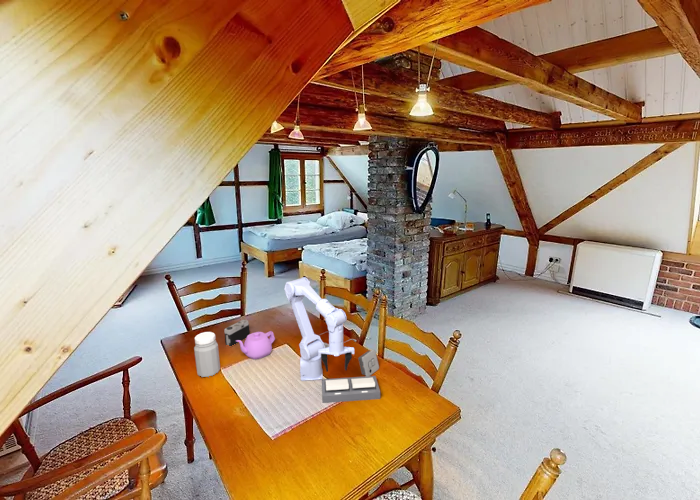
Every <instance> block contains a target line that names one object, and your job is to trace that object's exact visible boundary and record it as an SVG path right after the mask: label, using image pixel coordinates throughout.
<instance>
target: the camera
mask: <svg viewBox="0 0 700 500" xmlns="http://www.w3.org/2000/svg"><path fill="white" fill-rule="evenodd" d="M250 330H251V329H250V323H249V320H247V319H241V320H239V321H237V322H236V323H234V324H232V325H229V326H227V327H226V328H224V341H225V346H226V345H229V346H232V345H234V344H235V345H237V344H238V342H237V341H236V340H242V341H243V339H244V340H246V339H245V338H246V337H247V336H248V335H249V334H251V333H250V332H251V331H250ZM236 343H237V344H236ZM235 345H234V346H235ZM232 347H233V346H232Z"/></svg>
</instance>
